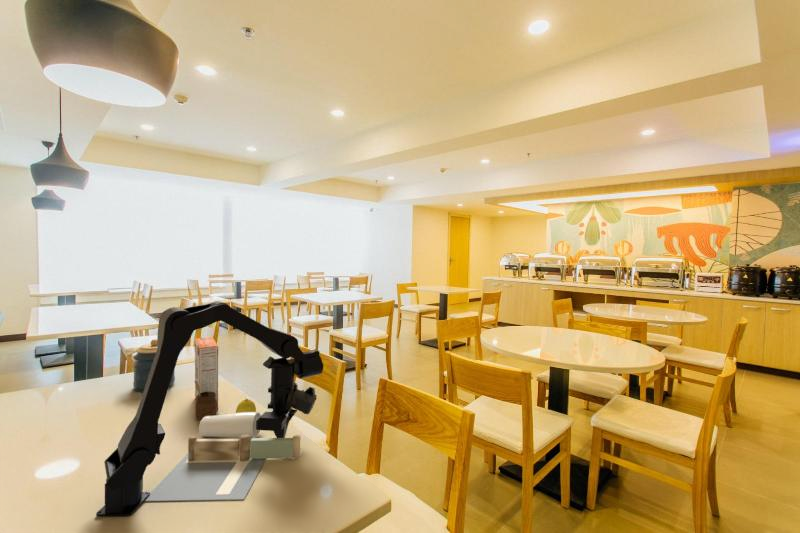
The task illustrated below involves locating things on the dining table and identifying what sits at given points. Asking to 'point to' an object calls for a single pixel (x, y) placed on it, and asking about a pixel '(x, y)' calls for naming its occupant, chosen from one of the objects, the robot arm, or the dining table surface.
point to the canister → (145, 365)
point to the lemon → (246, 406)
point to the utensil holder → (205, 403)
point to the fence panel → (275, 448)
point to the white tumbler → (230, 425)
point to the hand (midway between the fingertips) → (281, 441)
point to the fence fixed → (219, 449)
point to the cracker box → (206, 365)
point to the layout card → (207, 480)
